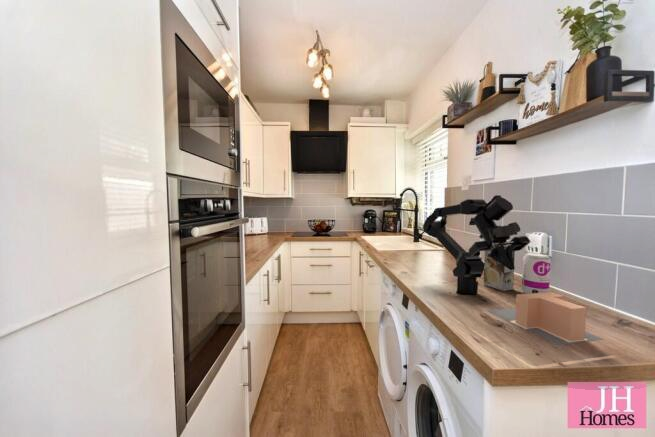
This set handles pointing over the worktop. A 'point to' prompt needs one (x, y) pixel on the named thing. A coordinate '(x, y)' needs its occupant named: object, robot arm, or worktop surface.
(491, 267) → the coffee box
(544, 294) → the t block
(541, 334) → the mat
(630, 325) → the worktop surface
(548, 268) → the supplement can
